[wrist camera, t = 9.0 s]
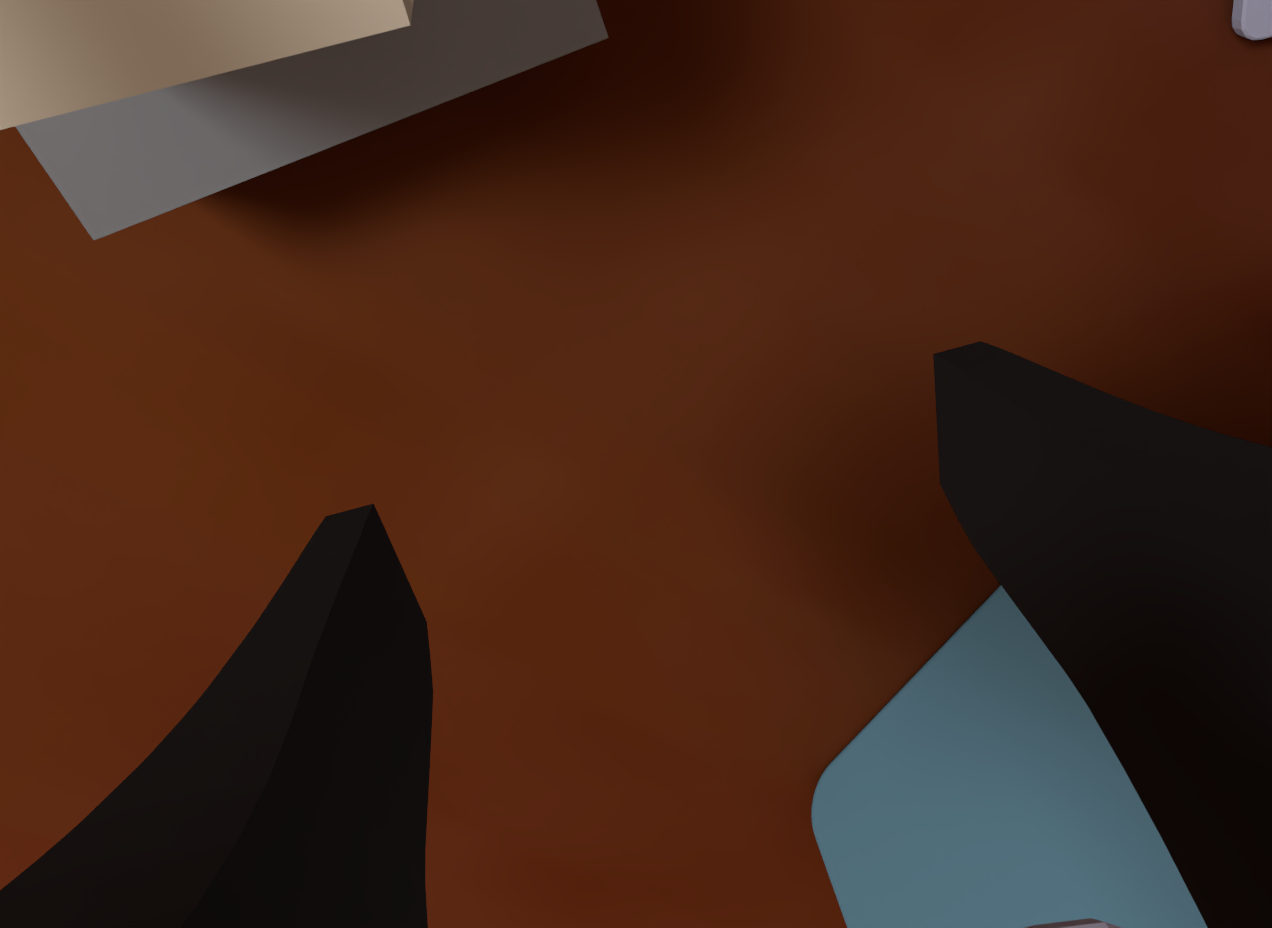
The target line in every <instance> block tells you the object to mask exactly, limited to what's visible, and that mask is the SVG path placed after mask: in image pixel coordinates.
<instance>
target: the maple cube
mask: <svg viewBox="0 0 1272 928" xmlns="http://www.w3.org/2000/svg"><path fill="white" fill-rule="evenodd" d="M413 1H414V0H0V130H2V129H6V128H10V127H14V126H17V125H21V124H25V123H29V122H33V121H37V120H41V119H45V118H49V117H53V116H57V115H61V114H65V113H68V112H72V111H76V110H80V109H84V108H88V107H92V106H96V105H100V104H104V103H108V102H112V101H116V100H119V99H123V98H127V97H131V96H135V95H139V94H143V93H147V92H151V91H155V90H159V89H163V88H167V87H170V86H174V85H178V84H182V83H186V82H190V81H194V80H198V79H202V78H206V77H210V76H214V75H218V74H222V73H225V72H229V71H233V70H237V69H241V68H245V67H249V66H253V65H257V64H261V63H265V62H269V61H273V60H276V59H280V58H284V57H288V56H292V55H296V54H300V53H304V52H308V51H312V50H316V49H320V48H324V47H327V46H331V45H335V44H339V43H343V42H347V41H351V40H355V39H359V38H363V37H367V36H371V35H375V34H378V33H382V32H386V31H390V30H394V29H398V28H402V27H406V26H410V25H411V17H412V9H413Z"/></svg>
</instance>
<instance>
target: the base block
mask: <svg viewBox="0 0 1272 928" xmlns="http://www.w3.org/2000/svg"><path fill="white" fill-rule="evenodd" d="M607 38H608V35H607V31H606V28H605V25H604V22H603V19H602V16H601V13H600V10H599V7H598V4H597V1H596V0H414V1H413V9H412V17H411V25H410V26H406V27H402V28H398V29H394V30H390V31H386V32H382V33H378V34H375V35H371V36H367V37H363V38H359V39H355V40H351V41H347V42H343V43H339V44H335V45H331V46H327V47H324V48H320V49H316V50H312V51H308V52H304V53H300V54H296V55H292V56H288V57H284V58H280V59H276V60H273V61H269V62H265V63H261V64H257V65H253V66H249V67H245V68H241V69H237V70H233V71H229V72H225V73H222V74H218V75H214V76H210V77H206V78H202V79H198V80H194V81H190V82H186V83H182V84H178V85H174V86H170V87H167V88H163V89H159V90H155V91H151V92H147V93H143V94H139V95H135V96H131V97H127V98H123V99H119V100H116V101H112V102H108V103H104V104H100V105H96V106H92V107H88V108H84V109H80V110H76V111H72V112H68V113H65V114H61V115H57V116H53V117H49V118H45V119H41V120H37V121H33V122H29V123H25V124H21V125H17V126H15V127H16V128H17V130H18V131H19V133H20V134H21V135H22V137H23V138H24V140H25V141H26V143H27V144H28V146H29V147H30V149H31V150H32V151H33V153H34V154H35V156H36V157H37V159H38V160H39V162H40V163H41V165H42V166H43V167H44V169H45V170H46V172H47V173H48V175H49V176H50V178H51V179H52V181H53V182H54V183H55V185H56V186H57V188H58V189H59V191H60V192H61V194H62V195H63V197H64V198H65V199H66V201H67V202H68V204H69V205H70V207H71V208H72V210H73V211H74V213H75V214H76V215H77V217H78V218H79V220H80V221H81V223H82V224H83V226H84V227H85V229H86V230H87V231H88V233H89V234H90V236H91V237H92V239H93V240H96V239H99V238H101V237H104V236H106V235H109V234H111V233H114V232H117V231H119V230H122V229H124V228H127V227H129V226H132V225H134V224H137V223H139V222H142V221H145V220H147V219H150V218H152V217H155V216H157V215H160V214H162V213H165V212H167V211H170V210H172V209H175V208H178V207H180V206H183V205H185V204H188V203H190V202H193V201H195V200H198V199H200V198H203V197H205V196H208V195H211V194H213V193H216V192H218V191H221V190H223V189H226V188H228V187H231V186H233V185H236V184H238V183H241V182H244V181H246V180H249V179H251V178H254V177H256V176H259V175H261V174H264V173H266V172H269V171H271V170H274V169H277V168H279V167H282V166H284V165H287V164H289V163H292V162H294V161H297V160H299V159H302V158H304V157H307V156H310V155H312V154H315V153H317V152H320V151H322V150H325V149H327V148H330V147H332V146H335V145H338V144H340V143H343V142H345V141H348V140H350V139H353V138H355V137H358V136H360V135H363V134H365V133H368V132H371V131H373V130H376V129H378V128H381V127H383V126H386V125H388V124H391V123H393V122H396V121H398V120H401V119H404V118H406V117H409V116H411V115H414V114H416V113H419V112H421V111H424V110H426V109H429V108H431V107H434V106H437V105H439V104H442V103H444V102H447V101H449V100H452V99H454V98H457V97H459V96H462V95H464V94H467V93H470V92H472V91H475V90H477V89H480V88H482V87H485V86H487V85H490V84H492V83H495V82H497V81H500V80H503V79H505V78H508V77H510V76H513V75H515V74H518V73H520V72H523V71H525V70H528V69H530V68H533V67H536V66H538V65H541V64H543V63H546V62H548V61H551V60H553V59H556V58H558V57H561V56H563V55H566V54H569V53H571V52H574V51H576V50H579V49H581V48H584V47H586V46H589V45H591V44H594V43H597V42H599V41H602V40H604V39H607Z"/></svg>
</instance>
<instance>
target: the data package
mask: <svg viewBox="0 0 1272 928" xmlns="http://www.w3.org/2000/svg"><path fill="white" fill-rule="evenodd" d="M812 826H813V831H814V835H815V838H816V841H817V844H818V846H819V849H820V852H821V855H822V858H823V860H824V863H825V866H826V869H827V872H828V875H829V877H830V880H831V883H832V886H833V889H834V891H835V894H836V897H837V900H838V903H839V905H840V908H841V911H842V914H843V917H844V919H845V922H846V925H847V928H1025V927H1029V926H1032V925H1039V924H1047V923H1055V922H1063V921H1072V920H1080V919H1088V918H1092V919H1096V920H1099V921H1103V922H1106V923H1109V924H1113V925H1116V926H1119V927H1122V928H1207V926H1206V924H1205V922H1204V920H1203V918H1202V916H1201V914H1200V912H1199V910H1198V908H1197V906H1196V904H1195V902H1194V900H1193V898H1192V896H1191V894H1190V892H1189V890H1188V888H1187V886H1186V885H1185V883H1184V881H1183V879H1182V877H1181V875H1180V873H1179V871H1178V869H1177V867H1176V865H1175V863H1174V861H1173V859H1172V857H1171V855H1170V853H1169V851H1168V849H1167V847H1166V846H1165V844H1164V842H1163V840H1162V838H1161V836H1160V834H1159V832H1158V830H1157V829H1156V827H1155V825H1154V823H1153V821H1152V819H1151V818H1150V816H1149V814H1148V812H1147V810H1146V808H1145V807H1144V805H1143V803H1142V801H1141V799H1140V797H1139V796H1138V794H1137V792H1136V790H1135V788H1134V787H1133V785H1132V783H1131V781H1130V779H1129V777H1128V776H1127V774H1126V772H1125V770H1124V768H1123V766H1122V765H1121V763H1120V761H1119V760H1118V758H1117V756H1116V754H1115V753H1114V751H1113V749H1112V747H1111V746H1110V744H1109V742H1108V740H1107V739H1106V737H1105V735H1104V734H1103V732H1102V730H1101V728H1100V727H1099V725H1098V723H1097V721H1096V720H1095V718H1094V716H1093V714H1092V713H1091V711H1090V709H1089V708H1088V706H1087V704H1086V703H1085V701H1084V700H1083V698H1082V697H1081V695H1080V694H1079V692H1078V691H1077V689H1076V688H1075V686H1074V685H1073V683H1072V682H1071V680H1070V679H1069V677H1068V676H1067V674H1066V673H1065V671H1064V670H1063V669H1062V667H1061V666H1060V665H1059V663H1058V662H1057V660H1056V659H1055V658H1054V656H1053V655H1052V654H1051V652H1050V651H1049V650H1048V648H1047V647H1046V646H1045V644H1044V643H1043V641H1042V640H1041V639H1040V637H1039V636H1038V635H1037V633H1036V632H1035V631H1034V629H1033V628H1032V627H1031V625H1030V624H1029V623H1028V621H1027V620H1026V618H1025V617H1024V616H1023V614H1022V613H1021V612H1020V610H1019V609H1018V608H1017V606H1016V605H1015V604H1014V602H1013V601H1012V599H1011V598H1010V597H1009V595H1008V594H1007V593H1006V591H1005V590H1004V589H1003V587H1002V586H1001V585H1000V586H999V587H998V588H997V589H996V590H995V591H994V593H993V594H992V595H991V596H990V597H989V598H988V599H987V600H986V601H985V602H984V603H983V604H982V605H981V606H980V607H979V608H978V609H977V610H976V611H975V612H974V613H973V614H972V616H971V617H970V618H969V619H968V620H967V621H966V622H965V623H964V624H963V625H962V626H961V627H960V628H959V629H958V630H957V631H956V632H955V633H954V634H953V635H952V636H951V637H950V639H949V640H948V641H947V642H946V643H945V644H944V645H943V646H942V647H941V648H940V649H939V650H938V651H937V652H936V653H935V654H934V655H933V656H932V657H931V658H930V659H929V660H928V662H927V663H926V664H925V665H924V666H923V667H922V668H921V669H920V670H919V671H918V672H917V673H916V674H915V675H914V676H913V677H912V678H911V679H910V680H909V681H908V682H907V683H906V685H905V686H904V687H903V688H902V689H901V690H900V691H899V692H898V693H897V694H896V695H895V696H894V697H893V698H892V699H891V700H890V701H889V702H888V703H887V704H886V705H885V706H884V708H883V709H882V710H881V711H880V712H879V713H878V714H877V715H876V716H875V717H874V718H873V719H872V720H871V721H870V722H869V723H868V724H867V725H866V726H865V727H864V728H863V729H862V731H861V732H860V733H859V734H858V735H857V736H856V737H855V738H854V739H853V740H852V741H851V742H850V743H849V744H848V745H847V746H846V747H845V748H844V749H843V750H842V751H841V753H840V754H839V755H838V756H837V757H836V758H835V759H834V760H833V761H832V762H831V763H830V764H829V765H828V767H827V768H826V769H825V771H824V772H823V774H822V776H821V777H820V779H819V782H818V784H817V787H816V789H815V793H814V797H813V802H812Z"/></svg>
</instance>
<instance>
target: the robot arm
mask: <svg viewBox="0 0 1272 928" xmlns="http://www.w3.org/2000/svg"><path fill="white" fill-rule="evenodd" d="M1232 27H1233V29H1234V30H1235V32H1236V34H1238V35H1240V36H1242V37H1244V38H1247V39H1250V40H1263V39H1266V38H1270V37H1272V0H1234V3H1233V12H1232ZM933 355H934V374H935V393H936V413H937V432H938V451H939V471H940V485H941V487H942V489H943V491H944V492H945V494H946V496H947V498H948V500H949V502H950V504H951V506H952V508H953V510H954V512H955V514H956V516H957V518H958V520H959V522H960V523H961V525H962V527H963V529H964V531H965V532H966V534H967V536H968V538H969V540H970V542H971V543H972V545H973V547H974V548H975V550H976V551H977V552H978V554H979V555H980V557H981V558H982V560H983V561H984V562H985V564H986V565H987V566H988V568H989V569H990V571H991V572H992V573H993V575H994V576H995V578H996V579H997V580H998V582H999V583H1000V584H1001V586H1002V587H1003V589H1004V590H1005V591H1006V593H1007V594H1008V595H1009V597H1010V598H1011V599H1012V601H1013V602H1014V604H1015V605H1016V606H1017V608H1018V609H1019V610H1020V612H1021V613H1022V614H1023V616H1024V617H1025V618H1026V620H1027V621H1028V623H1029V624H1030V625H1031V627H1032V628H1033V629H1034V631H1035V632H1036V633H1037V635H1038V636H1039V637H1040V639H1041V640H1042V641H1043V643H1044V644H1045V646H1046V647H1047V648H1048V650H1049V651H1050V652H1051V654H1052V655H1053V656H1054V658H1055V659H1056V660H1057V662H1058V663H1059V665H1060V666H1061V667H1062V669H1063V670H1064V671H1065V673H1066V674H1067V676H1068V677H1069V679H1070V680H1071V682H1072V683H1073V685H1074V686H1075V688H1076V689H1077V691H1078V692H1079V694H1080V695H1081V697H1082V698H1083V700H1084V701H1085V703H1086V704H1087V706H1088V708H1089V709H1090V711H1091V713H1092V714H1093V716H1094V718H1095V720H1096V721H1097V723H1098V725H1099V727H1100V728H1101V730H1102V732H1103V734H1104V735H1105V737H1106V739H1107V740H1108V742H1109V744H1110V746H1111V747H1112V749H1113V751H1114V753H1115V754H1116V756H1117V758H1118V760H1119V761H1120V763H1121V765H1122V766H1123V768H1124V770H1125V772H1126V774H1127V776H1128V777H1129V779H1130V781H1131V783H1132V785H1133V787H1134V788H1135V790H1136V792H1137V794H1138V796H1139V797H1140V799H1141V801H1142V803H1143V805H1144V807H1145V808H1146V810H1147V812H1148V814H1149V816H1150V818H1151V819H1152V821H1153V823H1154V825H1155V827H1156V829H1157V830H1158V832H1159V834H1160V836H1161V838H1162V840H1163V842H1164V844H1165V846H1166V847H1167V849H1168V851H1169V853H1170V855H1171V857H1172V859H1173V861H1174V863H1175V865H1176V867H1177V869H1178V871H1179V873H1180V875H1181V877H1182V879H1183V881H1184V883H1185V885H1186V886H1187V888H1188V890H1189V892H1190V894H1191V896H1192V898H1193V900H1194V902H1195V904H1196V906H1197V908H1198V910H1199V912H1200V914H1201V916H1202V918H1203V920H1204V922H1205V924H1206V926H1207V928H1272V447H1268V446H1265V445H1261V444H1257V443H1253V442H1249V441H1246V440H1242V439H1238V438H1234V437H1231V436H1227V435H1224V434H1221V433H1217V432H1214V431H1211V430H1207V429H1204V428H1201V427H1198V426H1195V425H1192V424H1189V423H1186V422H1184V421H1181V420H1178V419H1175V418H1172V417H1169V416H1166V415H1163V414H1160V413H1157V412H1154V411H1152V410H1149V409H1146V408H1144V407H1141V406H1138V405H1136V404H1133V403H1130V402H1128V401H1125V400H1123V399H1120V398H1118V397H1115V396H1112V395H1110V394H1107V393H1105V392H1103V391H1100V390H1098V389H1095V388H1093V387H1090V386H1088V385H1085V384H1083V383H1081V382H1078V381H1076V380H1074V379H1071V378H1069V377H1066V376H1064V375H1062V374H1059V373H1057V372H1055V371H1052V370H1050V369H1048V368H1045V367H1043V366H1041V365H1038V364H1036V363H1034V362H1031V361H1029V360H1027V359H1024V358H1022V357H1020V356H1017V355H1015V354H1013V353H1010V352H1008V351H1005V350H1003V349H1000V348H998V347H995V346H992V345H989V344H987V343H984V342H977V343H973V344H969V345H966V346H962V347H958V348H954V349H951V350H947V351H943V352H939V353H936V354H933ZM432 704H433V686H432V673H431V660H430V650H429V640H428V630H427V622H426V620H425V617H424V615H423V613H422V611H421V608H420V606H419V604H418V602H417V599H416V597H415V595H414V593H413V591H412V588H411V586H410V584H409V582H408V579H407V577H406V575H405V573H404V571H403V568H402V566H401V564H400V562H399V559H398V557H397V555H396V553H395V550H394V548H393V546H392V544H391V542H390V539H389V537H388V535H387V533H386V530H385V528H384V526H383V524H382V522H381V519H380V517H379V515H378V513H377V510H376V508H375V506H374V504H371V505H367V506H363V507H359V508H356V509H352V510H348V511H344V512H341V513H337V514H333V515H329V516H326V517H325V519H324V520H323V521H322V523H321V524H320V526H319V527H318V529H317V530H316V532H315V533H314V535H313V536H312V538H311V539H310V541H309V543H308V544H307V546H306V547H305V549H304V550H303V552H302V553H301V555H300V557H299V558H298V560H297V561H296V563H295V565H294V566H293V568H292V569H291V571H290V572H289V574H288V575H287V577H286V579H285V580H284V582H283V583H282V585H281V586H280V588H279V589H278V591H277V592H276V594H275V595H274V597H273V598H272V600H271V601H270V603H269V604H268V606H267V607H266V609H265V610H264V612H263V613H262V615H261V616H260V618H259V619H258V621H257V622H256V624H255V625H254V626H253V628H252V629H251V631H250V632H249V633H248V635H247V636H246V637H245V639H244V640H243V641H242V643H241V644H240V645H239V647H238V648H237V649H236V651H235V652H234V654H233V655H232V656H231V658H230V659H229V660H228V662H227V663H226V664H225V666H224V667H223V668H222V670H221V671H220V672H219V674H218V675H217V676H216V678H215V679H214V680H213V682H212V683H211V684H210V686H209V687H208V688H207V690H206V691H205V692H204V693H203V694H202V696H201V697H200V698H199V699H198V701H197V702H196V703H195V704H194V705H193V707H192V708H191V709H190V710H189V711H188V713H187V714H186V715H185V716H184V717H183V718H182V720H181V721H180V722H179V723H178V724H177V725H176V726H175V727H174V728H173V730H172V731H171V732H170V733H169V734H168V735H167V736H166V737H165V738H164V740H163V741H162V742H161V743H160V744H159V745H158V746H157V747H156V748H155V750H154V751H153V752H152V753H151V754H150V755H149V756H148V757H147V758H146V759H145V760H144V761H143V762H142V763H141V764H140V765H139V766H138V767H137V768H136V769H135V770H134V771H133V772H132V773H131V774H130V775H129V776H128V777H127V778H126V779H125V780H124V781H123V782H122V783H121V784H120V785H119V786H118V787H117V788H116V789H115V790H114V791H113V792H111V793H110V794H109V795H108V796H107V797H106V798H105V799H104V800H103V801H102V802H101V803H100V804H99V805H98V806H97V807H96V808H95V809H94V810H93V811H92V812H91V813H90V814H89V815H88V816H87V817H86V818H85V819H84V820H83V821H82V822H80V823H79V824H78V825H77V826H76V827H75V828H74V829H73V830H72V831H70V832H69V833H68V834H67V835H66V836H65V837H64V838H62V839H61V840H60V841H59V842H58V843H57V844H56V845H54V846H53V847H52V848H51V849H50V850H49V851H47V852H46V853H45V854H44V855H43V856H42V857H41V858H39V859H38V860H37V861H36V862H35V863H33V864H32V865H31V866H30V867H28V868H27V869H26V870H25V871H24V872H22V873H21V874H20V875H19V876H17V877H16V878H15V879H14V880H13V881H11V882H10V883H9V884H8V885H6V886H5V887H4V888H3V889H2V890H0V928H428V926H427V909H426V891H425V844H426V825H427V806H428V787H429V768H430V749H431V727H432ZM1025 928H1122V927H1119V926H1116V925H1113V924H1109V923H1106V922H1103V921H1099V920H1096V919H1092V918H1088V919H1080V920H1072V921H1063V922H1055V923H1047V924H1039V925H1032V926H1029V927H1025Z"/></svg>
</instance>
